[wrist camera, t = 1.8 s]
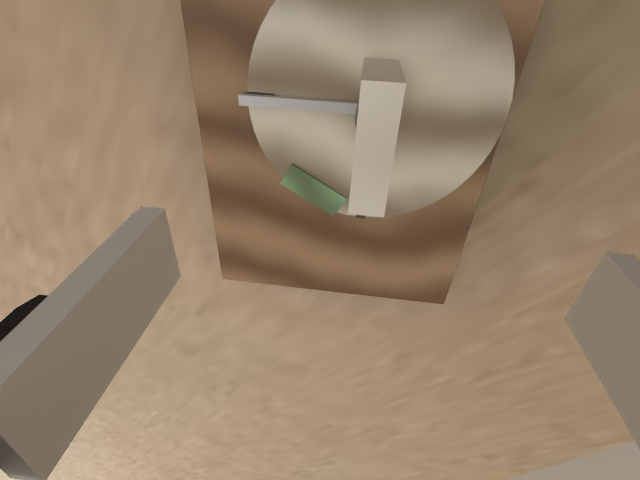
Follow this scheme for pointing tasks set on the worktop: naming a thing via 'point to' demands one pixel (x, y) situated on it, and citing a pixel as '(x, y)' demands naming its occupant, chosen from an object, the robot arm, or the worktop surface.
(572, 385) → the worktop surface
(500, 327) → the worktop surface
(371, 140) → the beige block with bar
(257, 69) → the tuner board
